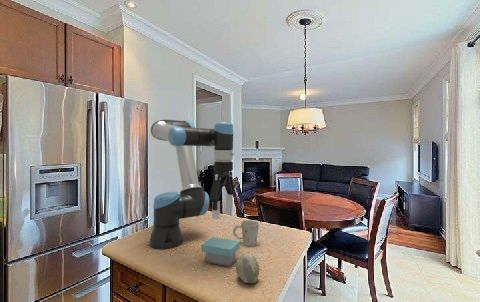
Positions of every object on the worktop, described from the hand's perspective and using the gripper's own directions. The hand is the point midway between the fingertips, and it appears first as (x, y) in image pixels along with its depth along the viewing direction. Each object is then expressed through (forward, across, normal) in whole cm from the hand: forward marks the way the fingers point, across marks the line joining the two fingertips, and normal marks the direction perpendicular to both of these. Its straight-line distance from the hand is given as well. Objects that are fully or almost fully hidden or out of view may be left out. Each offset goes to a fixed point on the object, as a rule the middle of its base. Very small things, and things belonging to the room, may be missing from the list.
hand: (223, 213), depth 98 cm
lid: (+14, -1, 0) cm, 14 cm away
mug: (+19, +20, -3) cm, 28 cm away
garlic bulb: (+19, -10, -14) cm, 26 cm away
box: (+19, -1, 0) cm, 19 cm away
